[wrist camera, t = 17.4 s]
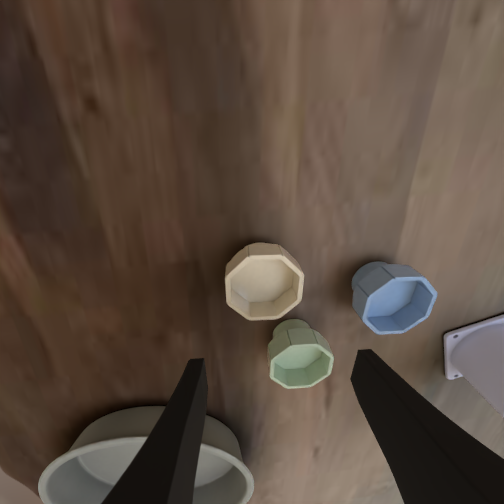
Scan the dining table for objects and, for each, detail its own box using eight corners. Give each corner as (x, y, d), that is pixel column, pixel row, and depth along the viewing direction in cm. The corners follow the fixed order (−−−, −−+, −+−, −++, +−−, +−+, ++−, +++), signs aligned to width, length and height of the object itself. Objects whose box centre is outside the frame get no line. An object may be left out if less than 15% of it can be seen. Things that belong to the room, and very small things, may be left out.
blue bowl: (409, 252, 21) (445, 275, 17) (393, 302, 23) (422, 332, 20) (348, 254, 21) (372, 278, 17) (338, 305, 23) (357, 336, 19)
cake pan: (130, 506, 38) (117, 550, 34) (18, 428, 28) (-19, 477, 24) (272, 471, 36) (277, 513, 32) (210, 372, 26) (205, 415, 22)
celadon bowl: (321, 311, 23) (337, 342, 20) (315, 351, 26) (328, 386, 22) (265, 313, 23) (271, 346, 19) (264, 354, 25) (269, 390, 22)
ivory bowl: (293, 232, 19) (307, 253, 16) (289, 288, 22) (299, 318, 18) (225, 234, 19) (223, 256, 15) (228, 291, 21) (227, 321, 18)
